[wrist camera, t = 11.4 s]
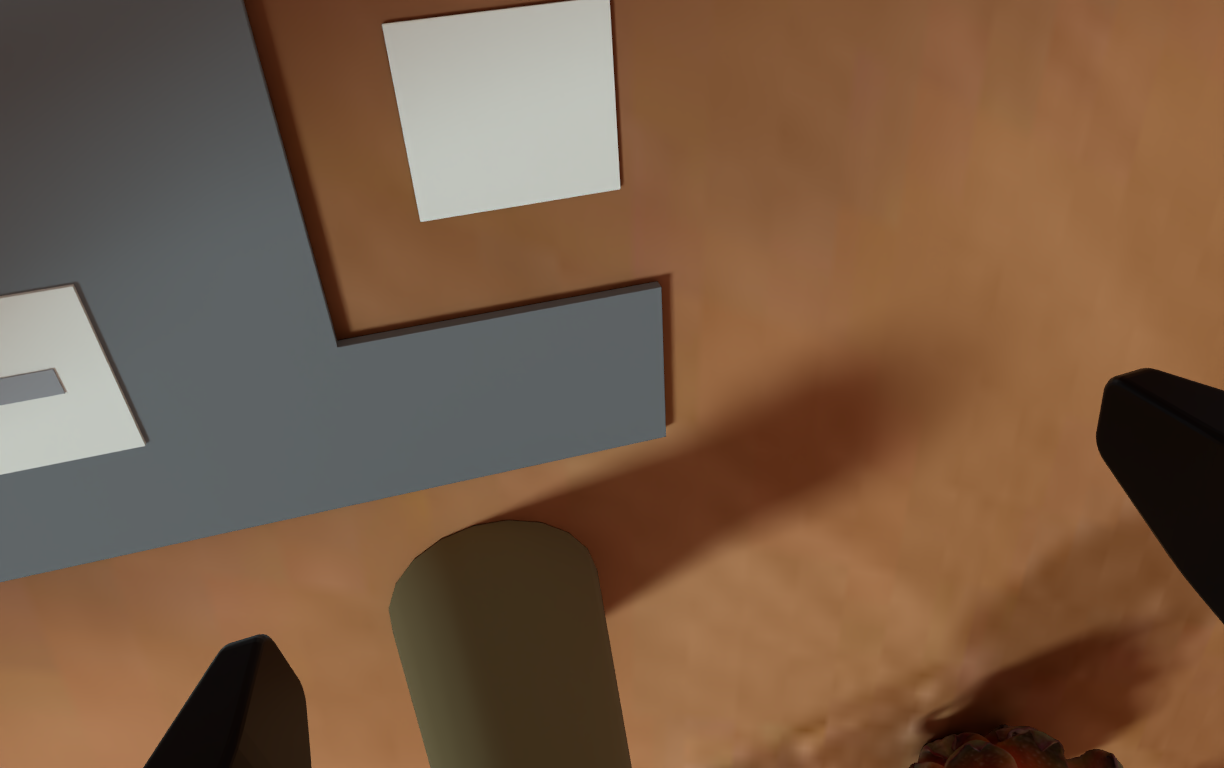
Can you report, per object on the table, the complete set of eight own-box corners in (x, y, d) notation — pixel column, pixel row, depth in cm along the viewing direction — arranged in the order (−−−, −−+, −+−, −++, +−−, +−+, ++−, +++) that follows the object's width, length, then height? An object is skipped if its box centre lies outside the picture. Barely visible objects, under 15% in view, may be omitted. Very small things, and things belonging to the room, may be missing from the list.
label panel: (-179, 612, 20) (-187, 627, 20) (-749, -71, 12) (-780, -66, 12) (662, 429, 24) (667, 439, 24) (642, -189, 16) (649, -188, 16)
